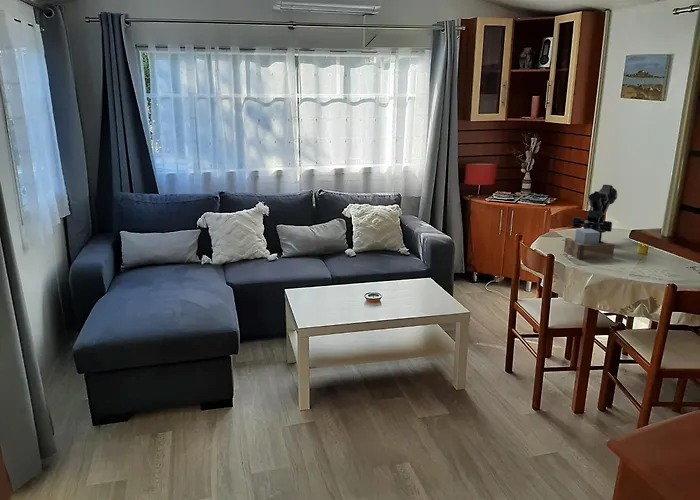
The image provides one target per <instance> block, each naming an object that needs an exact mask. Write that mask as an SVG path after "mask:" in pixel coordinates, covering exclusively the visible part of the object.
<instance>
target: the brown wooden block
mask: <svg viewBox="0 0 700 500" xmlns="http://www.w3.org/2000/svg"><path fill="white" fill-rule="evenodd" d="M614 251H615V244H614V243H599V244H580V243H578V242H576V241H575V239H572V238H570V237H566V238H565V240H564V248H563V252H565V253H566V254H567V255H570V256H572V257H573V258H576V259H577V260H597V259H599V260H600V259H601V260H602V259H613V257H614Z"/></svg>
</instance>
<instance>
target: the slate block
mask: <svg viewBox="0 0 700 500" xmlns="http://www.w3.org/2000/svg"><path fill="white" fill-rule="evenodd" d="M575 229H576V230H575V235H574V236H575V237H574V241H576V242H578V243H580V244H600V243H599V237H600V232H598V231H595V230H593V229H584V228H575Z"/></svg>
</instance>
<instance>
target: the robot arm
mask: <svg viewBox="0 0 700 500" xmlns="http://www.w3.org/2000/svg"><path fill="white" fill-rule="evenodd" d="M617 198H618V190H617V189H616V188H614V186H613V185H612V184H602V187H601V188H600V189H599V191H597V190H596V191H594V192H593V193H590V194H589V195H588V203H589V207H590V208H589V209H588V211H587V215H586V219H585V220H582V217H575V216H574V217H573V218H572V222H571V223H572V227H573V228H576V229H580V228H581V227H582V226H583V229H593V230H595V231H598V232H600V237H599V244H604V241H602V237H603V236H602V235H603V233H606V232H612V229H613V228H612V227H613V222H612V221H609V220H605V219H606V217H605V216H606V214H607V211H608V209H609V207H610V205H612V204H614V203H615V202H616V200H617Z"/></svg>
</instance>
